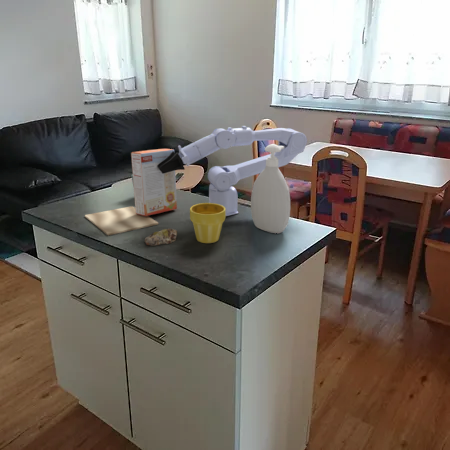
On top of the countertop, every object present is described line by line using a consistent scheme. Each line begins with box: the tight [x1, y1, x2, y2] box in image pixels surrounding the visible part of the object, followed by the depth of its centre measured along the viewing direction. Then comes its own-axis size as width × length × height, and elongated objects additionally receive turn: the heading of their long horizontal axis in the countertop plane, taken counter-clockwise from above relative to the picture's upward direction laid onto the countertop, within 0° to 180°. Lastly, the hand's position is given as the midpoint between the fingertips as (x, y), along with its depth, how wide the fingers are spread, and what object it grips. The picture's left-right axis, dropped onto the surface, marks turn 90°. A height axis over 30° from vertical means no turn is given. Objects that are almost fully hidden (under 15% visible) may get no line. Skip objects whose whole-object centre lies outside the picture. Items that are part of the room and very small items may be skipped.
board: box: [84, 205, 159, 236], centre depth 150 cm, size 17×20×1 cm
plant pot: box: [189, 202, 226, 244], centre depth 134 cm, size 10×10×10 cm
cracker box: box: [130, 148, 178, 217], centre depth 154 cm, size 14×6×21 cm, turn 136°
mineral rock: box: [144, 228, 178, 247], centre depth 135 cm, size 11×4×8 cm
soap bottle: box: [250, 143, 291, 234], centre depth 139 cm, size 14×8×27 cm, turn 47°
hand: (159, 169), depth 146 cm, fingers open, 7 cm apart
